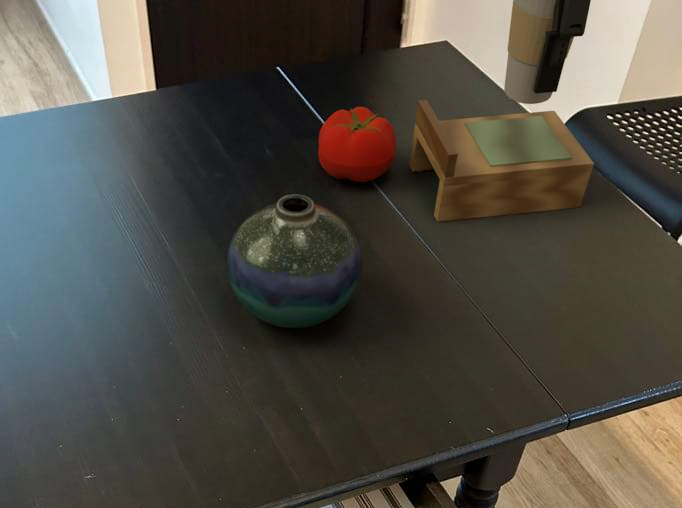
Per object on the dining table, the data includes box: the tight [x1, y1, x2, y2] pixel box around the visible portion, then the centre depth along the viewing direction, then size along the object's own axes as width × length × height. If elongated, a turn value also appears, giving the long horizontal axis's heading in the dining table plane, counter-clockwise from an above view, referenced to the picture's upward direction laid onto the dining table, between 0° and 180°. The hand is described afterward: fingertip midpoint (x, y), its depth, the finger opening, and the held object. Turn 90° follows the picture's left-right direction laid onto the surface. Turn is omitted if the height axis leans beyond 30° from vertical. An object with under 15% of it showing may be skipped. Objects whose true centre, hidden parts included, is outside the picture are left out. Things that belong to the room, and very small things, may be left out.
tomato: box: [318, 106, 397, 183], centre depth 113 cm, size 11×11×8 cm
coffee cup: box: [503, 0, 575, 105], centre depth 98 cm, size 9×9×15 cm
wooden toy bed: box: [408, 99, 595, 223], centre depth 110 cm, size 20×14×9 cm
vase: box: [226, 193, 363, 329], centre depth 93 cm, size 15×15×13 cm
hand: (532, 74), depth 103 cm, fingers closed on coffee cup, 8 cm apart
